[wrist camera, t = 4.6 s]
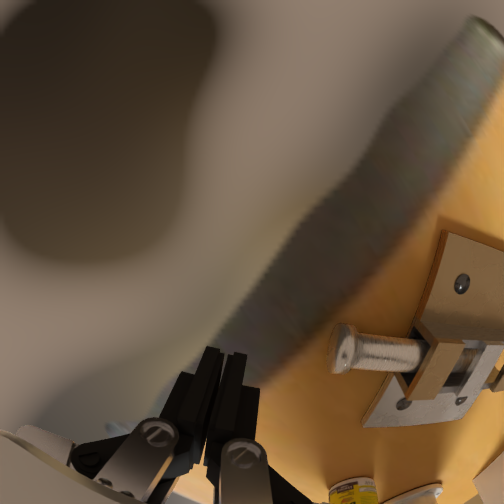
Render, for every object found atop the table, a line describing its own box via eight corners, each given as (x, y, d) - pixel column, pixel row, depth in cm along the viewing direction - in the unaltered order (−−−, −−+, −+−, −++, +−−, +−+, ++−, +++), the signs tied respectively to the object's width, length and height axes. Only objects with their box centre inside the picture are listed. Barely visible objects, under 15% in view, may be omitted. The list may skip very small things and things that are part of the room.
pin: (463, 363, 16) (480, 383, 13) (324, 354, 16) (330, 383, 14) (479, 332, 15) (499, 350, 12) (338, 314, 16) (348, 340, 13)
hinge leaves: (458, 413, 17) (471, 436, 14) (360, 420, 18) (368, 452, 14) (531, 263, 13) (557, 276, 10) (442, 229, 14) (475, 242, 10)
